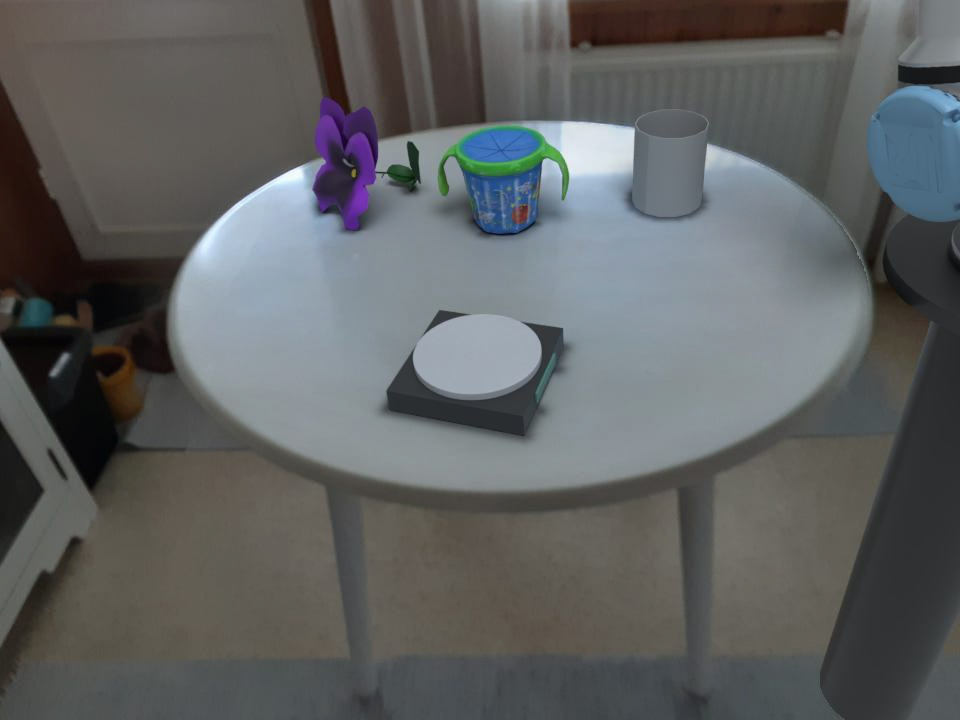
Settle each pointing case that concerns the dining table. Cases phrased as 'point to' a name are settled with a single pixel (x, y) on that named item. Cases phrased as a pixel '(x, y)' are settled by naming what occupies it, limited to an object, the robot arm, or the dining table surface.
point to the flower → (352, 161)
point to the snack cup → (503, 175)
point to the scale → (478, 371)
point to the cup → (669, 162)
